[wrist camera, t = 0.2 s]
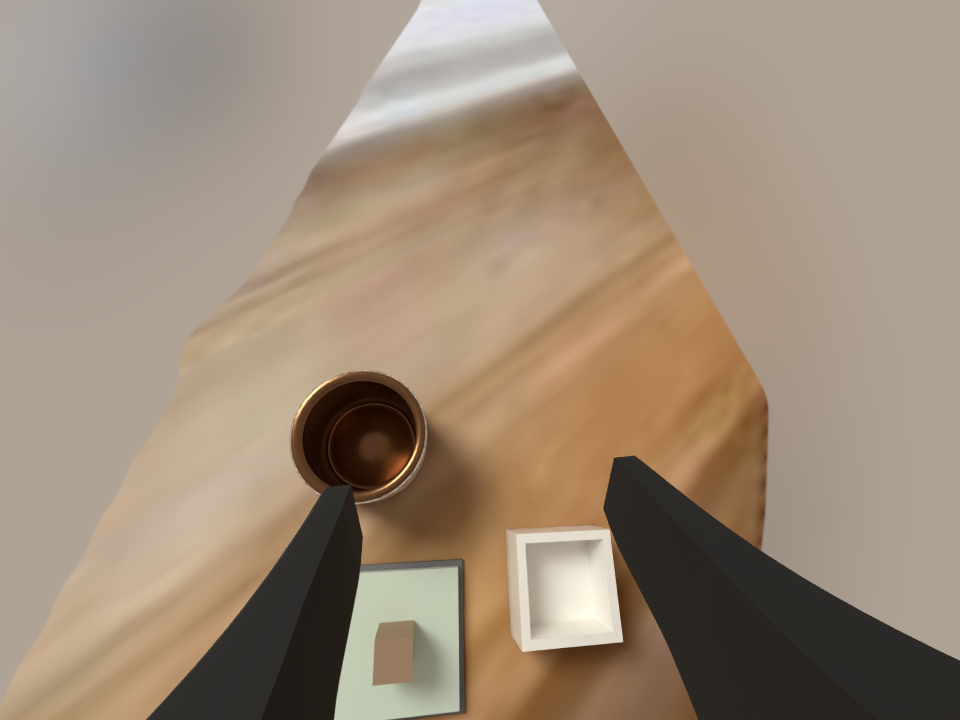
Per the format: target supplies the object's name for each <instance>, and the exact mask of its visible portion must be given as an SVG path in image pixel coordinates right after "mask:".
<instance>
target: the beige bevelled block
mask: <svg viewBox="0 0 960 720" xmlns="http://www.w3.org/2000/svg"><path fill="white" fill-rule="evenodd" d="M506 547H507V569H508V591H509V613H510V633H511V634H512V636H513V638H514V639H515V641H516V642H517V644H518V646H519V647H520V649H521V650H522V652H526V651H536V650H546V649H556V648H567V647H577V646H587V645H598V644H608V643H618V642H623V637H622V629H621V620H620V612H619V604H618V596H617V587H616V579H615V571H614V563H613V555H612V546H611V538H610V530H609V529H605V528H601V527H596V526H592V525H581V526H560V527H539V528H518V529H506Z"/></svg>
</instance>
